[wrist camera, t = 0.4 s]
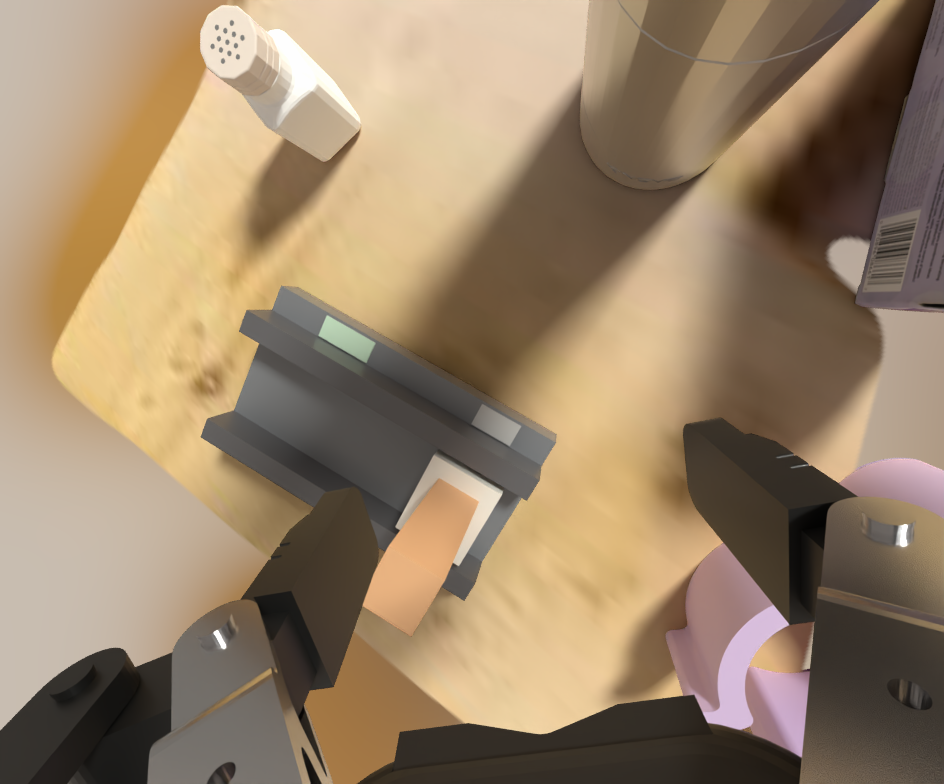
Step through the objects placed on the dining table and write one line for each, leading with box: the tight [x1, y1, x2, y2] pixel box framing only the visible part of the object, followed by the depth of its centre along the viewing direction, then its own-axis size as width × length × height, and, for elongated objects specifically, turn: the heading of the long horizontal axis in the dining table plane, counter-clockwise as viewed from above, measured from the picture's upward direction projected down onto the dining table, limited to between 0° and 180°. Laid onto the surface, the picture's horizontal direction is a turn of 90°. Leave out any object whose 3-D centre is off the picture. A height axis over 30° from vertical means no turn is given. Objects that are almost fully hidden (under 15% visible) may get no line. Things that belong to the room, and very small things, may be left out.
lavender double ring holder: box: [665, 458, 944, 757], centre depth 26 cm, size 20×12×7 cm, turn 143°
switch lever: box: [363, 449, 504, 636], centre depth 25 cm, size 5×6×11 cm
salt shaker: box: [200, 6, 361, 162], centre depth 25 cm, size 4×4×10 cm
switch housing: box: [201, 286, 556, 600], centre depth 31 cm, size 22×14×5 cm, turn 62°
